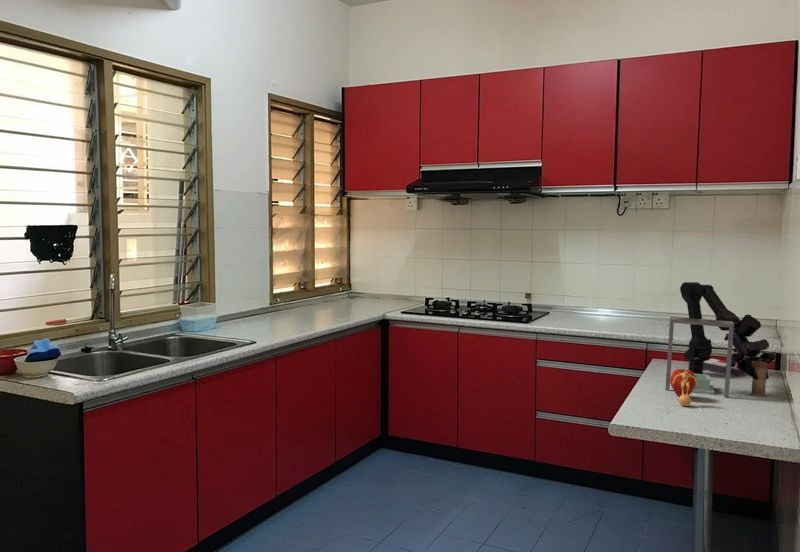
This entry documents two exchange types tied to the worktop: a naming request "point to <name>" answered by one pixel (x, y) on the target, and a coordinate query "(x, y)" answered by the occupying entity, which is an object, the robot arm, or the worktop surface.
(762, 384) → the peg
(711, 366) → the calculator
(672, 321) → the grey table frame
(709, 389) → the socket block
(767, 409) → the worktop surface
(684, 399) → the figurine
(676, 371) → the apple
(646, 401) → the worktop surface
